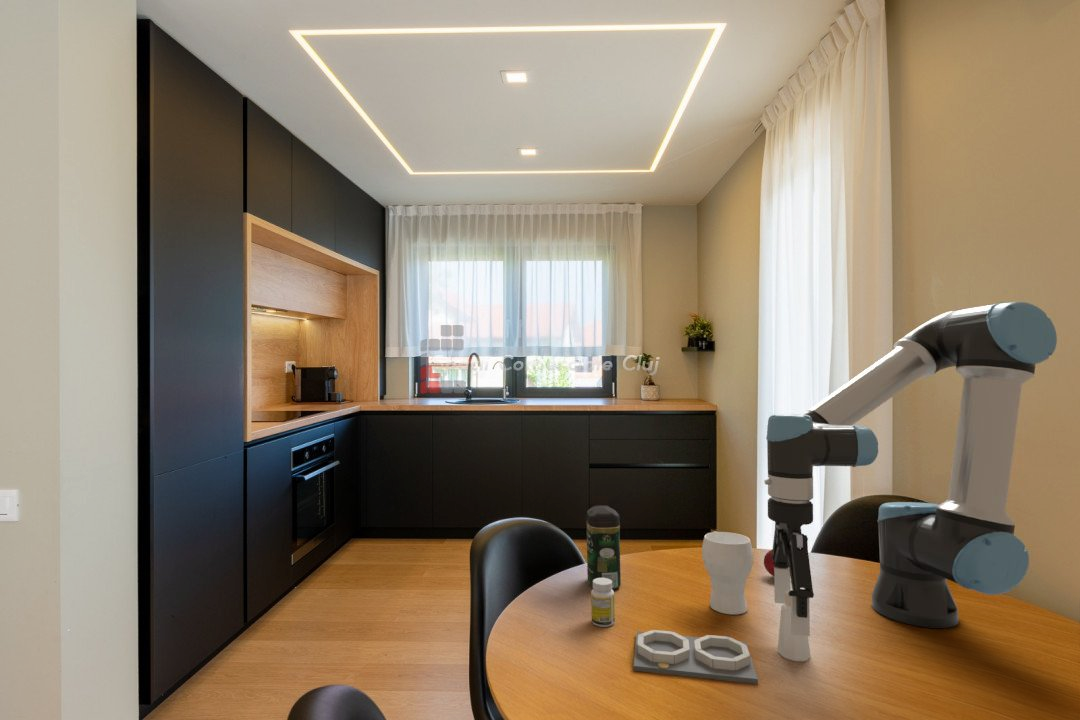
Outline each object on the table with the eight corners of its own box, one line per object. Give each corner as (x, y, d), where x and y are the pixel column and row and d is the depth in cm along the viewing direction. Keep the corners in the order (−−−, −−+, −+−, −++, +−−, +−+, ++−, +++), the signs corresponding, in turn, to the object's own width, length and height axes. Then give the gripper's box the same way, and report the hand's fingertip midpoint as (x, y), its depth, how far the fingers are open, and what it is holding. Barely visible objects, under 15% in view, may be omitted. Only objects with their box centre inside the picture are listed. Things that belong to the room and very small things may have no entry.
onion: (793, 582, 132) (792, 549, 133) (769, 582, 132) (769, 549, 133) (783, 574, 138) (782, 542, 138) (760, 574, 138) (759, 542, 138)
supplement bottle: (601, 615, 114) (601, 575, 114) (619, 622, 111) (618, 580, 111) (586, 622, 111) (586, 581, 111) (604, 630, 107) (604, 587, 108)
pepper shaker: (778, 659, 96) (777, 596, 96) (776, 645, 101) (775, 585, 101) (812, 664, 94) (810, 600, 94) (808, 650, 99) (807, 589, 99)
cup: (758, 619, 111) (757, 546, 112) (705, 615, 114) (704, 543, 114) (749, 599, 122) (748, 532, 122) (700, 596, 124) (699, 530, 125)
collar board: (745, 646, 100) (745, 633, 100) (758, 684, 88) (757, 669, 88) (636, 635, 105) (636, 623, 105) (633, 670, 92) (633, 656, 92)
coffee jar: (585, 577, 136) (584, 503, 137) (616, 577, 136) (615, 503, 137) (590, 592, 127) (589, 512, 127) (623, 591, 127) (622, 512, 128)
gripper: (756, 485, 111) (756, 590, 110) (783, 513, 87) (784, 647, 86) (795, 487, 110) (796, 593, 109) (833, 516, 85) (835, 653, 84)
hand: (790, 617), depth 97 cm, fingers open, 13 cm apart
